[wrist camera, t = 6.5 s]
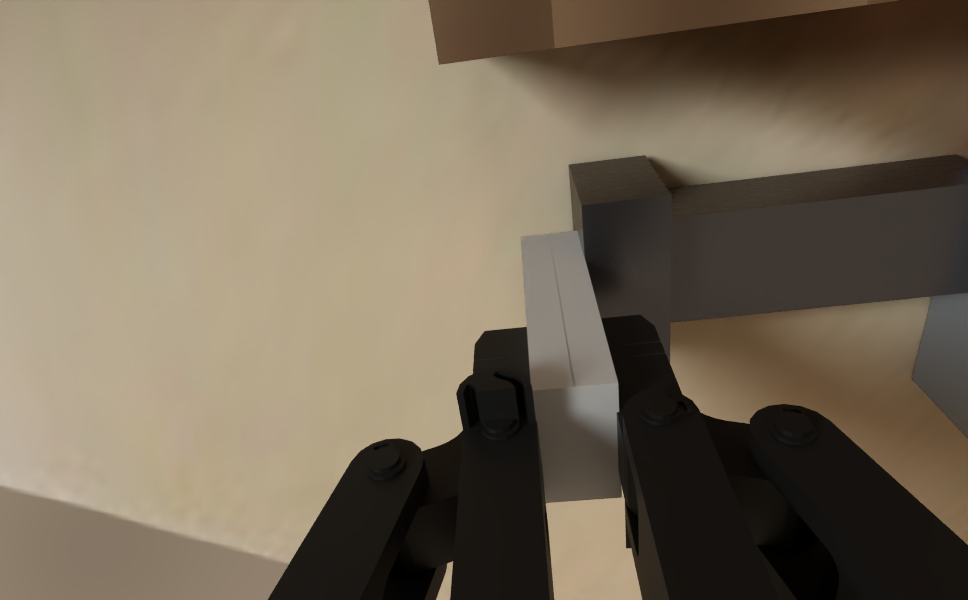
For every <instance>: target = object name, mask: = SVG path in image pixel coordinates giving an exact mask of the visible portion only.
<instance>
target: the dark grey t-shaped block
mask: <svg viewBox="0 0 968 600" xmlns="http://www.w3.org/2000/svg"><path fill="white" fill-rule="evenodd" d="M569 175H570V190H571V204H572V218H573V231H577V232H578V236H579V240H580V243H581V247H582V251H583V255H584V258H585V261H586V265H587V268H588V272H589V276H590V279H591V283H592V287H593V291H594V294H595V298H596V302H597V306H598V309H599V313H600V317H601V318H609V317H619V316H630V315H642V316H643V317H644V318H645V319H647V320H648V321H649V322H650V323H652V324H653V325H654V326H655V328H656V331H657V333H658V335H659V338H660V342H661V343H662V345H663V348H664V350H665V354H666V355H667V358H668V360H669V363H670V323H671V322H681V321H691V320H701V319H711V318H721V317H731V316H741V315H751V314H760V313H770V312H780V311H790V310H800V309H810V308H820V307H830V306H840V305H850V304H860V303H870V302H880V301H890V300H900V299H909V298H919V297H929V296H939V295H949V294H959V293H968V160H967V159H965V158H963V157H961V156H959V155H956V154H955V155H947V156H938V157H930V158H922V159H913V160H905V161H896V162H888V163H879V164H871V165H863V166H854V167H846V168H837V169H829V170H820V171H812V172H804V173H795V174H787V175H778V176H770V177H761V178H753V179H745V180H736V181H728V182H719V183H711V184H702V185H694V186H686V187H677V188H669V189H667V187H666V186H665V184H664V183H663V181H662V180H661V178H660V177H659V176H658V174H657V173H656V171H655V170H654V168H653V167H652V165H651V164H650V162H649V161H648V159H647V158H646V156H645V155H644V156H636V157H628V158H619V159H611V160H603V161H595V162H587V163H579V164H571V165H569Z"/></svg>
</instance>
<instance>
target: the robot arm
mask: <svg viewBox="0 0 968 600" xmlns="http://www.w3.org/2000/svg"><path fill="white" fill-rule="evenodd" d="M521 247H522V262H523V277H524V292H525V307H526V322H527V327H522V328H512V329H501V330H491V331H484V333H483V334H482V335H481V337H480V338H479V340H478V341H477V342H476V344H475V350H474V365H473V374H472V375H470V376H468V377H467V378H466V379H465V380H464V381H463V382H462V383H461V384H460V386H459V388H458V391H457V393H456V394H457V400H458V405H459V410H460V416H461V421H462V426H463V431H462V432H461V433H460V434H459V435H458V436H457V437H455V438H454V439H452V440H450V441H449V442H447V443H445V444H442V445H440V446H437V447H434V448H431V449H428V450H425V451H421V449H420V448H419V447H418V446H417V445H416V444H414V443H413V442H412V441H408V440H404V439H385V440H382V441H379V442H376V443H373V444H371V445H369V446H368V447H366V448H365V449H363V450H361V451H360V452H359V453H358V454H357V456H356V457H355V458H354V459H353V460H352V461H351V463H350V465H349V466H348V468H347V469H346V471H345V473H344V474H343V476H342V478H341V479H340V481H339V483H338V484H337V486H336V488H335V489H334V491H333V493H332V494H331V496H330V498H329V499H328V501H327V503H326V504H325V506H324V507H323V509H322V511H321V512H320V514H319V516H318V517H317V519H316V521H315V522H314V524H313V526H312V527H311V529H310V531H309V532H308V534H307V536H306V537H305V539H304V541H303V542H302V544H301V546H300V547H299V549H298V550H297V552H296V554H295V555H294V557H293V559H292V560H291V562H290V564H289V565H288V567H287V569H286V570H285V572H284V574H283V575H282V577H281V579H280V580H279V582H278V584H277V585H276V587H275V589H274V590H273V592H272V594H271V595H270V597H269V599H268V600H436V598H437V595H438V592H439V589H440V587H441V584H442V581H443V578H444V575H445V573H446V568H447V563H449V562H452V561H453V571H452V584H451V598H450V600H554V592H553V580H552V568H551V556H550V544H549V532H548V521H547V513H546V503H550V502H564V501H577V500H591V499H605V498H619V497H622V489H623V493H624V498H625V520H626V548H632V553H633V557H634V562H635V567H636V572H637V576H638V581H639V586H640V590H641V595H642V600H779V599H780V600H968V545H967V544H966V543H965V542H964V541H963V540H962V539H960V538H959V537H958V536H957V535H956V534H955V533H954V532H953V531H952V530H950V529H949V528H948V527H947V526H946V525H945V524H944V523H943V522H942V521H940V520H939V519H938V518H937V517H936V516H935V515H934V514H933V513H932V512H931V511H929V510H928V509H927V508H926V507H925V506H924V505H923V504H922V503H921V502H919V501H918V500H917V499H916V498H915V497H914V496H913V495H912V494H911V493H909V492H908V491H907V490H906V489H905V488H904V487H903V486H902V485H901V484H899V483H898V482H897V481H896V480H895V479H894V478H893V477H892V476H891V475H890V474H888V473H887V472H886V471H885V470H884V469H883V468H882V467H881V466H880V465H878V464H877V463H876V462H875V461H874V460H873V459H872V458H871V457H870V456H868V455H867V454H866V453H865V452H864V451H863V450H862V449H861V448H860V447H858V446H857V445H856V444H855V443H854V442H853V441H852V440H851V439H850V438H848V437H847V436H846V435H845V434H844V433H843V432H842V431H841V430H840V429H839V428H837V427H836V426H835V425H834V424H833V423H832V422H831V421H830V420H828V419H827V418H825V417H824V416H822V415H821V414H819V413H818V412H816V411H813V410H810V409H807V408H804V407H801V406H795V405H787V404H781V405H772V406H767V407H765V408H763V409H760V410H758V411H757V412H756V413H755V414H754V415H753V416H752V418H751V419H750V424H746V423H739V422H732V421H725V420H720V419H716V418H712V417H710V416H707V415H704V414H702V413H701V412H700V411H699V409H698V408H697V406H696V405H695V404H694V402H693V401H692V400H690V399H689V398H687V397H685V396H684V395H682V392H681V390H680V387H679V385H678V383H677V380H676V378H675V375H674V373H673V370H672V368H671V365H670V363H669V360H668V358H667V355H666V354H665V350H664V348H663V345H662V343H661V342H660V338H659V335H658V333H657V331H656V328H655V326H654V325H653V324H652V323H650V322H649V321H648V320H647V319H645V318H644V317H643V316H642V315H630V316H619V317H609V318H601V317H600V313H599V309H598V306H597V302H596V298H595V294H594V291H593V287H592V283H591V279H590V276H589V272H588V268H587V265H586V261H585V258H584V255H583V251H582V247H581V243H580V240H579V236H578V232H577V231H569V232H560V233H551V234H542V235H533V236H523V237H521ZM621 484H622V489H621Z"/></svg>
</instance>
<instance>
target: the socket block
mask: <svg viewBox="0 0 968 600" xmlns="http://www.w3.org/2000/svg"><path fill="white" fill-rule="evenodd" d="M912 380H913V381H914V382H915V383H916V384H917V385H918V386H919V387H920V388H921V389H922V391H923V392H924V393H925V394H926V395H927V396H928V397H929V398H930V399H931V400H932V401H933V402H934V403H935V404H936V405H937V406H938V407H939V409H940V410H941V411H942V412H943V413H944V414H945V415H946V416H947V417H948V418H949V419H950V420H951V421H952V422H953V423H954V424H955V425H956V427H957V428H958V429H959V430H960V431H961V432H962V433H963V434H964V435H965V436H966V437H967V438H968V293H959V294H949V295H939V296H932V299H931V303H930V307H929V311H928V315H927V319H926V323H925V327H924V331H923V335H922V339H921V343H920V348H919V352H918V356H917V360H916V364H915V368H914V372H913V376H912Z"/></svg>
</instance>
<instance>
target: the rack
mask: <svg viewBox="0 0 968 600" xmlns="http://www.w3.org/2000/svg"><path fill="white" fill-rule="evenodd" d="M891 1H898V0H429V6H430V12H431V18H432V24H433V30H434V37H435V43H436V49H437V55H438V61H439V65H440V64H447V63H454V62H462V61H469V60H476V59H483V58H490V57H497V56H505V55H512V54H519V53H526V52H533V51H540V50H547V49H555V48H562V47H569V46H576V45H583V44H590V43H598V42H605V41H612V40H619V39H626V38H633V37H641V36H648V35H655V34H662V33H669V32H676V31H684V30H691V29H698V28H705V27H712V26H719V25H726V24H734V23H741V22H748V21H755V20H762V19H769V18H777V17H784V16H791V15H798V14H805V13H812V12H820V11H827V10H834V9H841V8H848V7H855V6H863V5H870V4H877V3H884V2H891Z"/></svg>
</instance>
